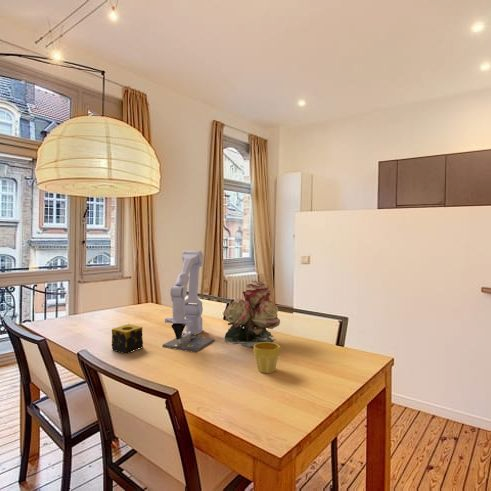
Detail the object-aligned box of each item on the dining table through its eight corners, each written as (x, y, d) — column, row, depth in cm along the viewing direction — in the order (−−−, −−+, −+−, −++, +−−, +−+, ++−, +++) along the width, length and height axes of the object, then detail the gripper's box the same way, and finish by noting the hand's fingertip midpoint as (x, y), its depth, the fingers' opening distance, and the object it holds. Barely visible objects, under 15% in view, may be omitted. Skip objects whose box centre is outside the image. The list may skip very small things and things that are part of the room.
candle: (128, 344, 171) (128, 323, 170) (143, 347, 166) (143, 326, 165) (111, 350, 162) (110, 328, 162) (126, 354, 157) (126, 332, 156)
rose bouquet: (217, 344, 171) (217, 282, 170) (245, 329, 197) (245, 275, 196) (266, 353, 159) (266, 287, 158) (289, 336, 185) (289, 279, 184)
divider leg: (189, 335, 179) (189, 330, 179) (195, 336, 178) (195, 330, 178) (176, 344, 166) (176, 338, 166) (182, 345, 165) (182, 339, 165)
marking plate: (183, 336, 184) (183, 332, 183) (214, 340, 177) (214, 336, 176) (162, 346, 167) (162, 342, 167) (195, 352, 160) (195, 347, 160)
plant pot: (263, 363, 148) (263, 339, 147) (284, 369, 141) (284, 345, 141) (248, 370, 140) (248, 346, 139) (269, 377, 133) (269, 352, 133)
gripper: (161, 311, 168) (161, 339, 169) (187, 314, 163) (187, 343, 163) (169, 308, 175) (169, 335, 176) (195, 310, 169) (195, 338, 170)
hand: (178, 338), depth 170 cm, fingers closed
